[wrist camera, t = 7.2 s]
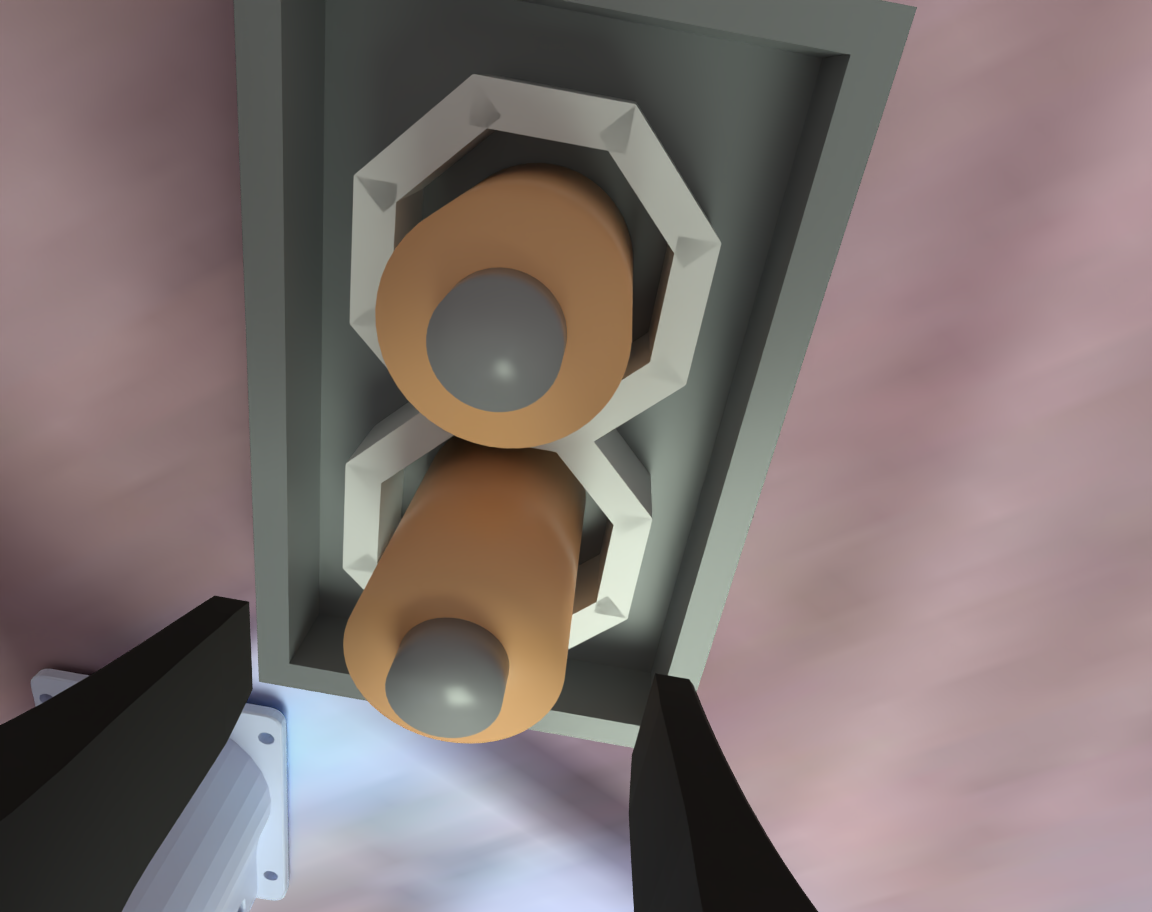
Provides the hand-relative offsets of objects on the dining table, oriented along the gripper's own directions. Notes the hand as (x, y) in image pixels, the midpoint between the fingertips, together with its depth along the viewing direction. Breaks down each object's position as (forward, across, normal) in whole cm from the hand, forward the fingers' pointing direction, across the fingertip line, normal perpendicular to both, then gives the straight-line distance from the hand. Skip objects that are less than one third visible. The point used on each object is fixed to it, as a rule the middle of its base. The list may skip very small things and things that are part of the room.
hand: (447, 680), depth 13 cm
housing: (+7, 0, -3) cm, 8 cm away
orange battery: (+6, 0, 0) cm, 6 cm away
